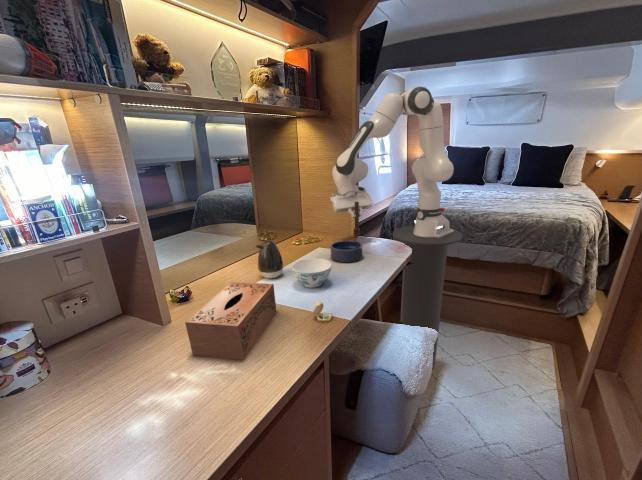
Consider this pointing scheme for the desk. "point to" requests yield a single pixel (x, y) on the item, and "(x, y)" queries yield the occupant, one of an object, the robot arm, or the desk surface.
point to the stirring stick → (356, 220)
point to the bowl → (346, 251)
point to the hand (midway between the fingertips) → (357, 216)
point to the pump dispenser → (269, 260)
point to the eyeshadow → (323, 316)
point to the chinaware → (312, 271)
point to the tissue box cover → (232, 320)
